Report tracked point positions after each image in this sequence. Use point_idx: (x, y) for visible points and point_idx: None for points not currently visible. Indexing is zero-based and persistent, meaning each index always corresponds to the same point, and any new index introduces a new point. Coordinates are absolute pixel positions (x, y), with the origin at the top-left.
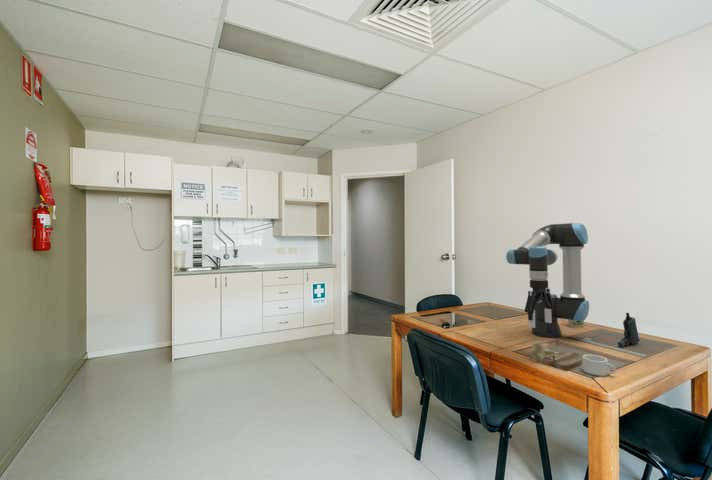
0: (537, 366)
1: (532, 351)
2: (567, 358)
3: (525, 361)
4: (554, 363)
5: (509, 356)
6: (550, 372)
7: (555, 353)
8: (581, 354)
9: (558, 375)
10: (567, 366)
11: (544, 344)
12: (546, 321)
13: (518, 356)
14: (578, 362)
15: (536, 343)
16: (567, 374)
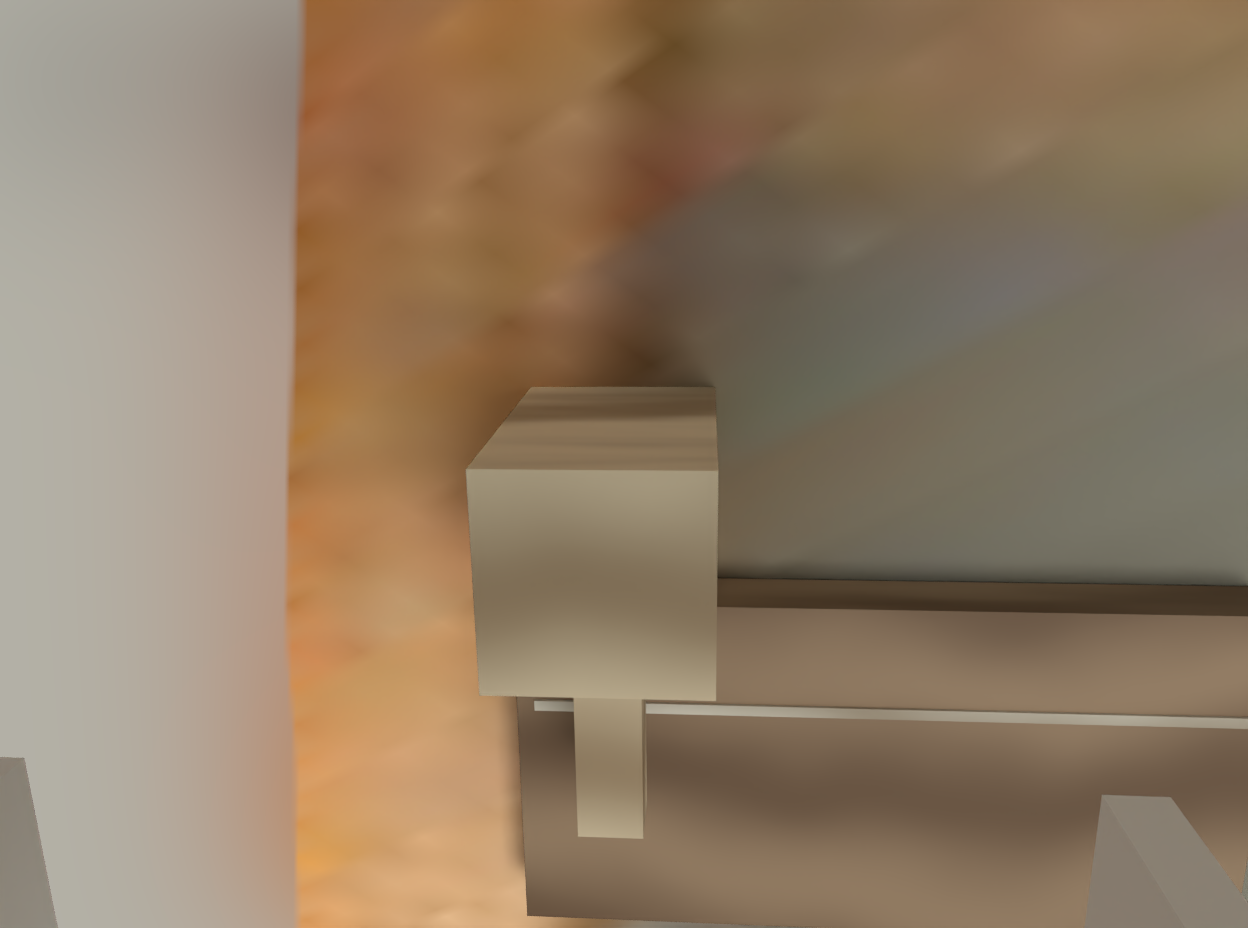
0: (350, 573)
1: (504, 425)
2: (859, 794)
3: (377, 355)
4: (523, 750)
5: (350, 36)
6: (307, 774)
7: (577, 819)
8: (1243, 841)
9: (305, 868)
10: (537, 913)
11: (598, 673)
12: (1102, 875)
13: (488, 137)
14: (857, 916)
15: (526, 538)
16: (430, 915)
